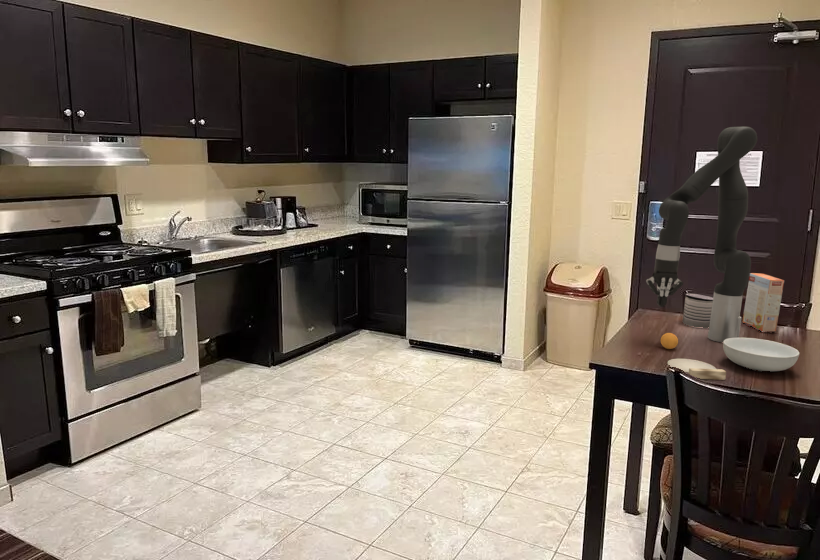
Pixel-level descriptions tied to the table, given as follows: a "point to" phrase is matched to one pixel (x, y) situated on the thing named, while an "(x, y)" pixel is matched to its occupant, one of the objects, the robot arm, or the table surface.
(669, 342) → the ball
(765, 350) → the serving bowl
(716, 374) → the stopper strip
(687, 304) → the can
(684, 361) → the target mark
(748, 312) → the cracker box
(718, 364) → the table surface
